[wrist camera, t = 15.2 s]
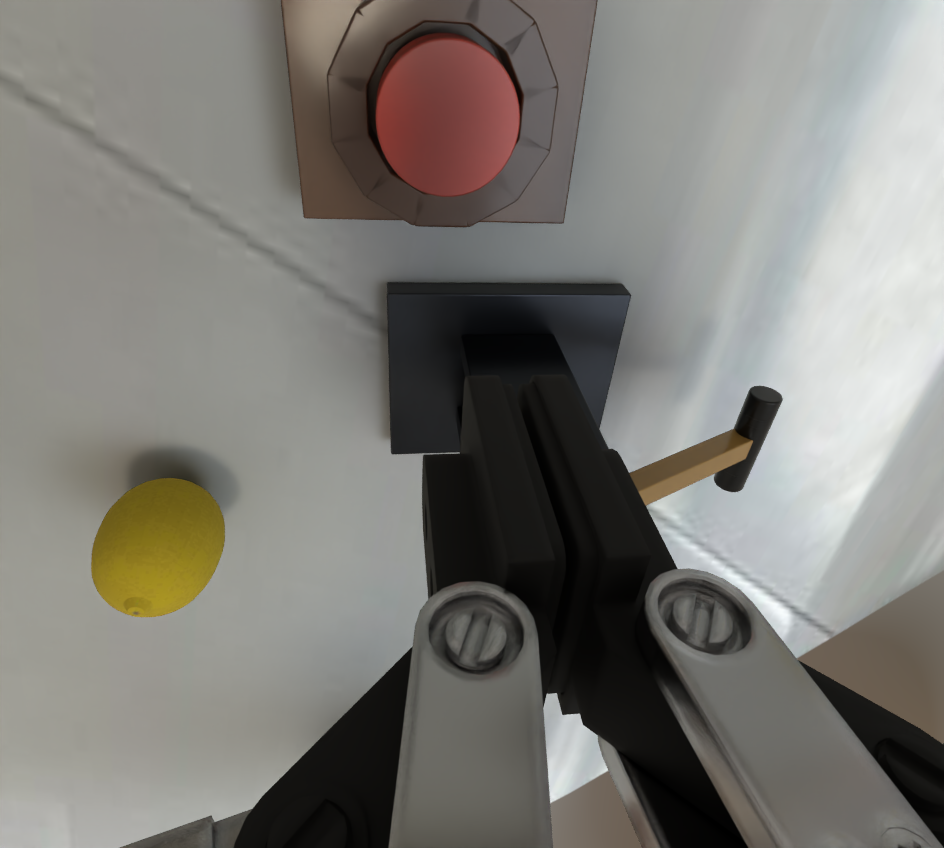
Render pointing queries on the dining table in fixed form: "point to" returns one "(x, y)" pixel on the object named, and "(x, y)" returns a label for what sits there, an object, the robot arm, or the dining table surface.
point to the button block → (355, 90)
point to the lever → (715, 453)
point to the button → (446, 114)
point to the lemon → (157, 547)
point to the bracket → (494, 349)
